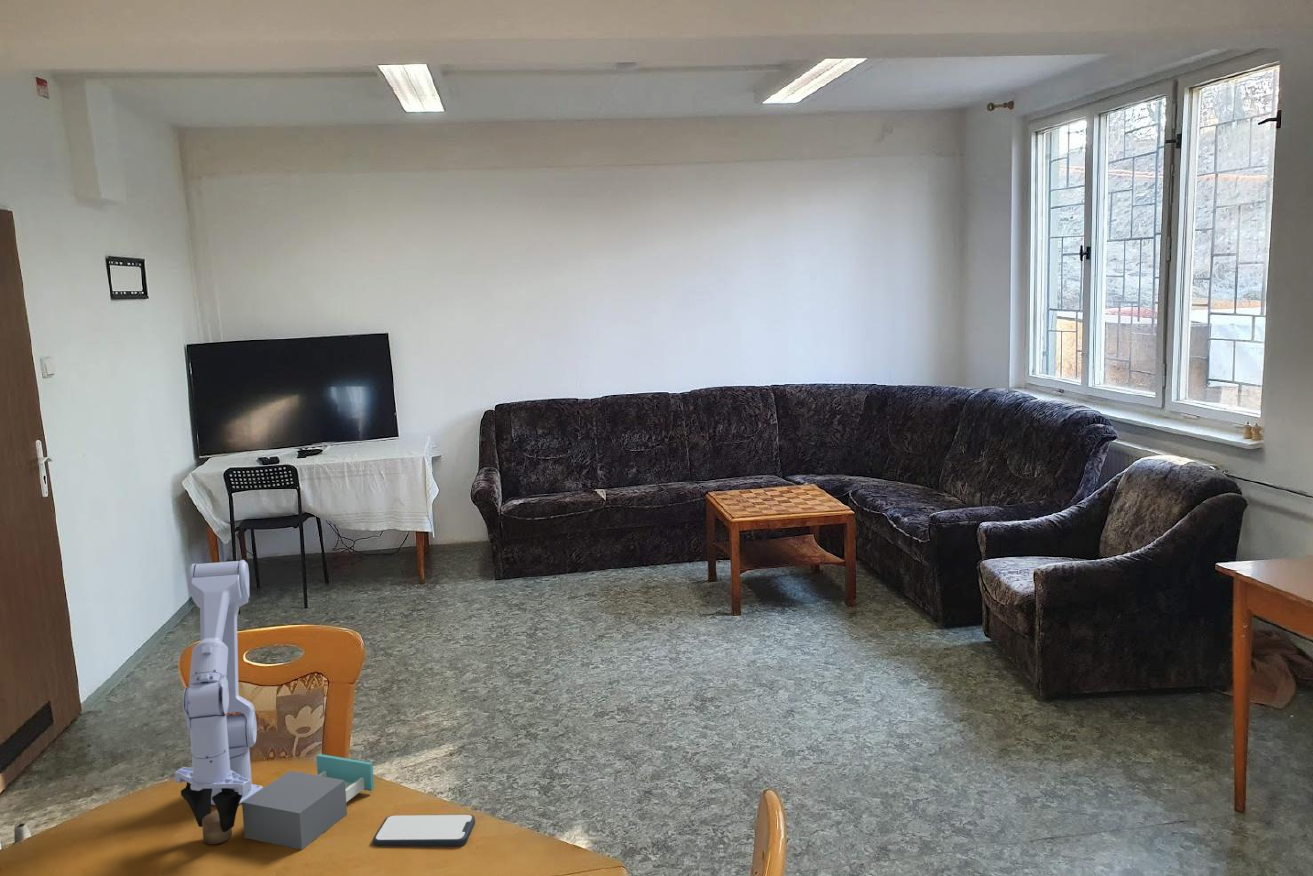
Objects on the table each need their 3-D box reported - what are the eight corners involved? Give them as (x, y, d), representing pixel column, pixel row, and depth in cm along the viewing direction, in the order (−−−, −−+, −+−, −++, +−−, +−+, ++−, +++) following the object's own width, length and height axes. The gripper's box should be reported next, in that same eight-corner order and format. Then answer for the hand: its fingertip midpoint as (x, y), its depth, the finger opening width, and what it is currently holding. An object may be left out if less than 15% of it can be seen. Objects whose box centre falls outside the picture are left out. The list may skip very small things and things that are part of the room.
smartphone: (371, 850, 163) (464, 849, 162) (370, 841, 163) (464, 840, 162) (388, 822, 172) (477, 822, 171) (387, 814, 172) (476, 813, 171)
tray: (320, 779, 185) (319, 754, 184) (374, 789, 181) (372, 762, 180) (278, 809, 174) (276, 782, 173) (333, 820, 170) (332, 792, 169)
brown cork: (197, 841, 164) (195, 822, 164) (217, 828, 169) (216, 809, 168) (218, 846, 163) (216, 826, 162) (238, 832, 167) (236, 813, 167)
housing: (292, 804, 177) (289, 770, 176) (347, 814, 173) (344, 780, 173) (244, 837, 166) (241, 802, 165) (302, 849, 162) (299, 813, 161)
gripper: (157, 755, 162) (164, 831, 164) (226, 768, 157) (232, 845, 159) (190, 737, 169) (196, 810, 171) (257, 749, 164) (263, 824, 166)
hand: (216, 826), depth 165 cm, fingers closed on brown cork, 4 cm apart
